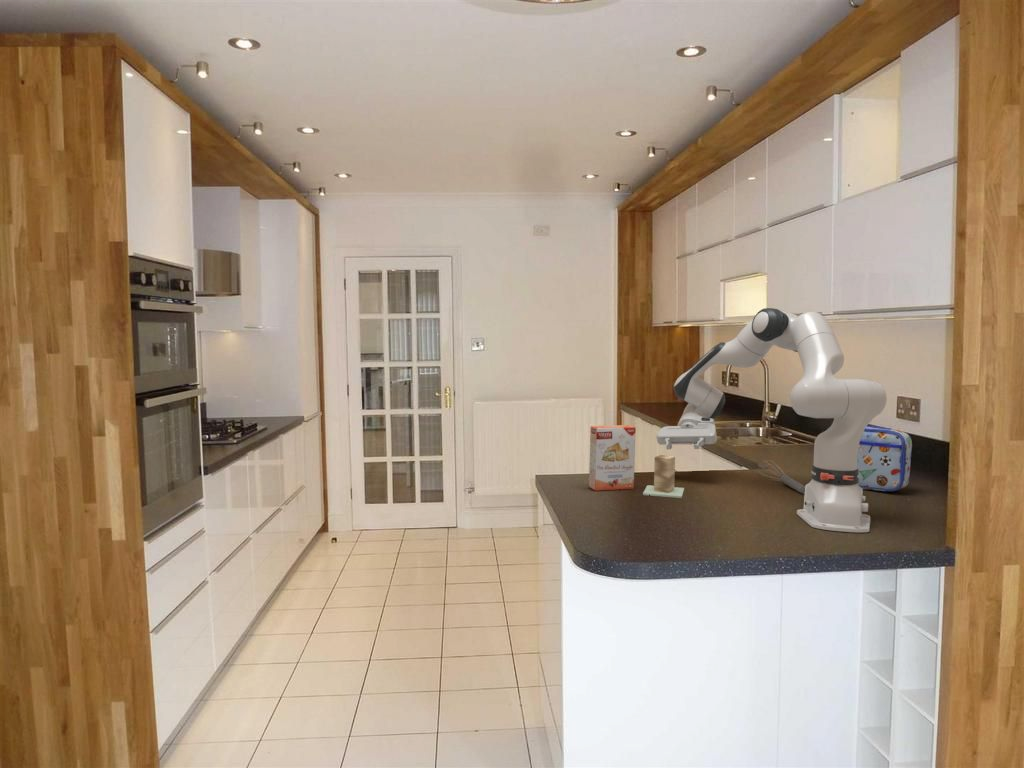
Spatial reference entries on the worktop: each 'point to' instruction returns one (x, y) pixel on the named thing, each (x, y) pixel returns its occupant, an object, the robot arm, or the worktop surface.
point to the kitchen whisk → (787, 480)
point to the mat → (675, 493)
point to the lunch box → (884, 459)
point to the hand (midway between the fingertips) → (682, 447)
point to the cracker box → (612, 457)
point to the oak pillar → (664, 473)
